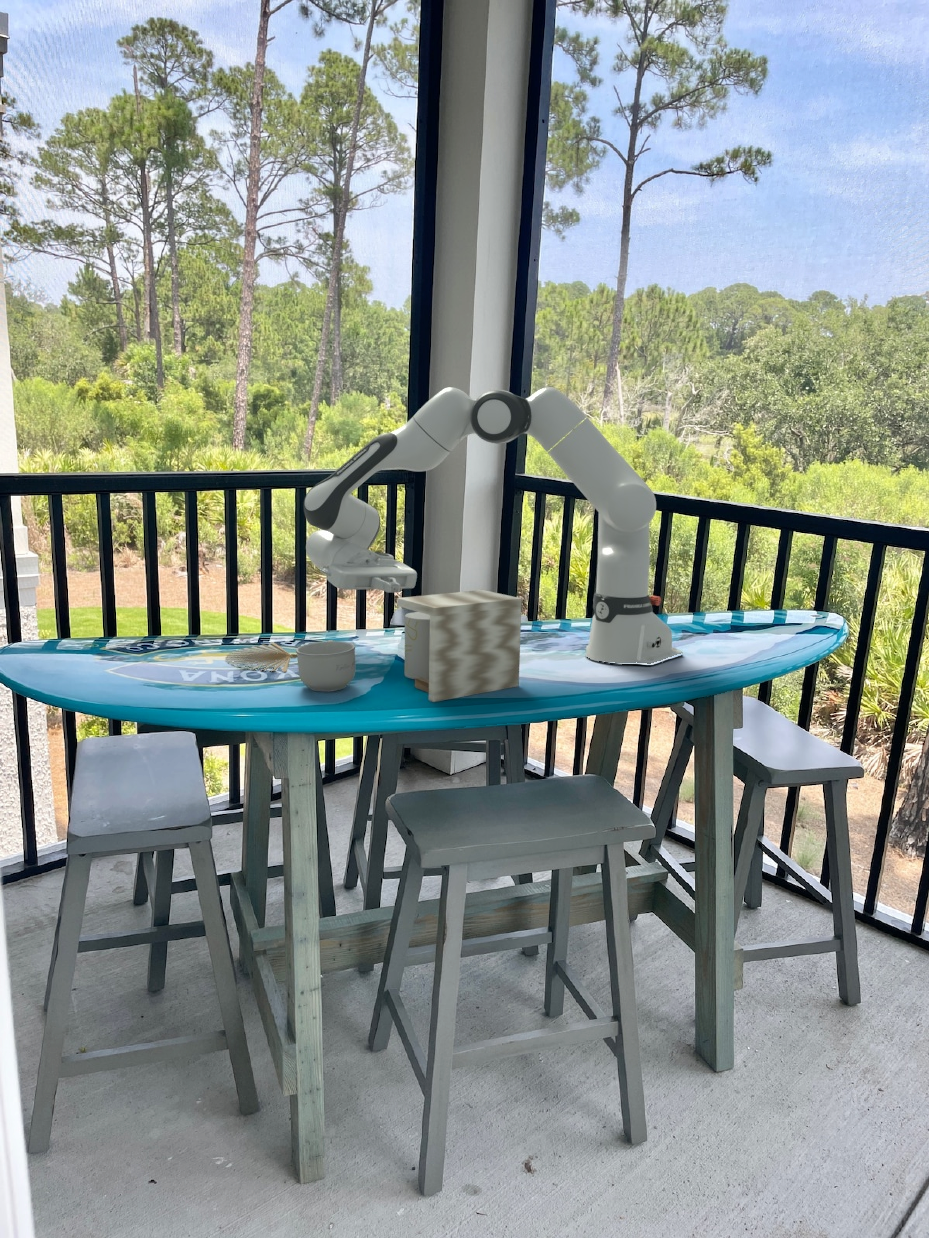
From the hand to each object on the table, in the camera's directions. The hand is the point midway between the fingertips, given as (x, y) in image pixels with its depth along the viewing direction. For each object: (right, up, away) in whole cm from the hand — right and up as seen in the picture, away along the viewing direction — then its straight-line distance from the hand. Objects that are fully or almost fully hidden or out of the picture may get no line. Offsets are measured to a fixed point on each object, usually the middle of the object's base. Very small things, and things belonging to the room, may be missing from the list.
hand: (394, 589), depth 184 cm
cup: (+6, -17, -6) cm, 19 cm away
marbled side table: (+13, -19, -14) cm, 27 cm away
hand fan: (-28, -15, +5) cm, 33 cm away
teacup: (-11, -19, -15) cm, 27 cm away
